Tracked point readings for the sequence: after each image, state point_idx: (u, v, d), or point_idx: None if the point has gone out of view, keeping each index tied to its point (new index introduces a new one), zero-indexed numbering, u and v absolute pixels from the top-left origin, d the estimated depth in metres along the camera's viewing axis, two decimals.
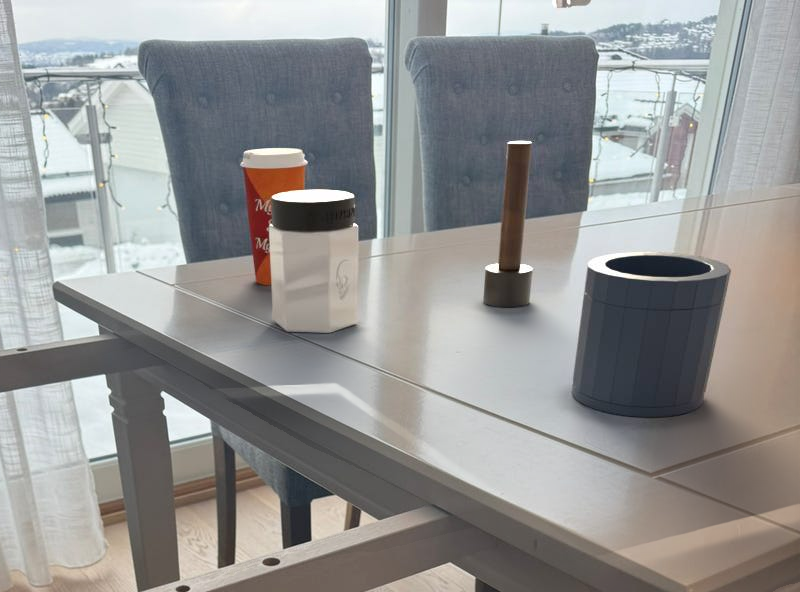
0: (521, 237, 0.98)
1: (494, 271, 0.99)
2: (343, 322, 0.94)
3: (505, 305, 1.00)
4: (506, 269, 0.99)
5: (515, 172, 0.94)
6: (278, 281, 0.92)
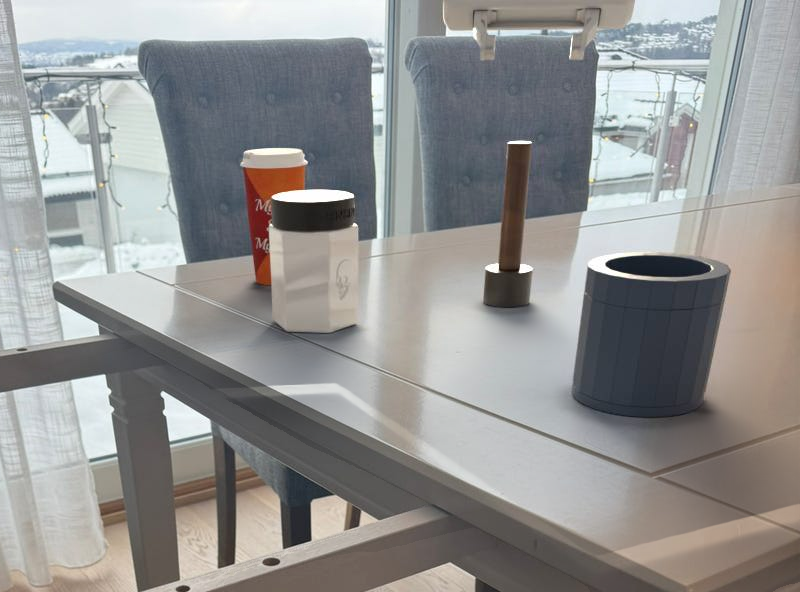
0: (521, 237, 0.98)
1: (494, 271, 0.99)
2: (343, 322, 0.94)
3: (505, 305, 1.00)
4: (506, 269, 0.99)
5: (515, 172, 0.94)
6: (278, 281, 0.92)
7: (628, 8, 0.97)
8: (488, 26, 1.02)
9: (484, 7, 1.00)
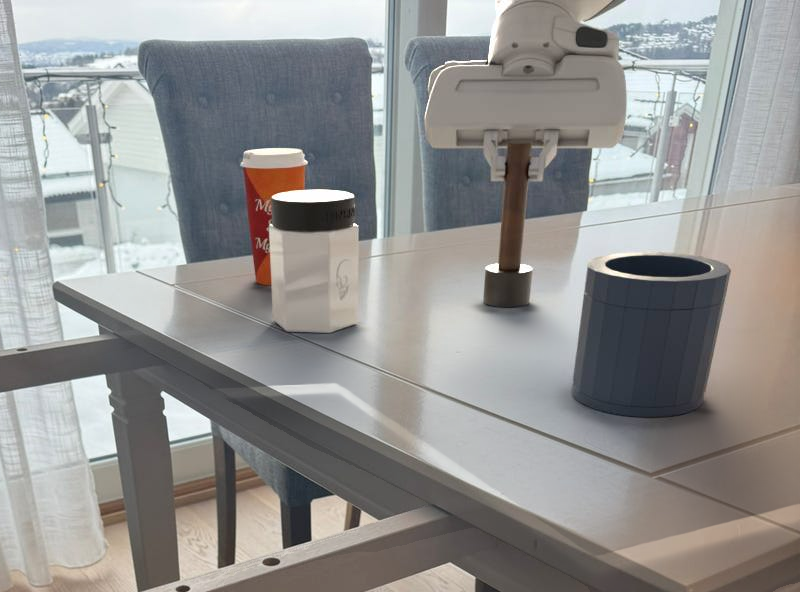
0: (521, 237, 0.98)
1: (494, 270, 0.99)
2: (343, 322, 0.94)
3: (505, 305, 1.00)
4: (506, 269, 0.99)
5: (515, 172, 0.94)
6: (278, 281, 0.92)
7: (617, 129, 0.93)
8: (472, 144, 0.98)
9: (467, 127, 0.95)
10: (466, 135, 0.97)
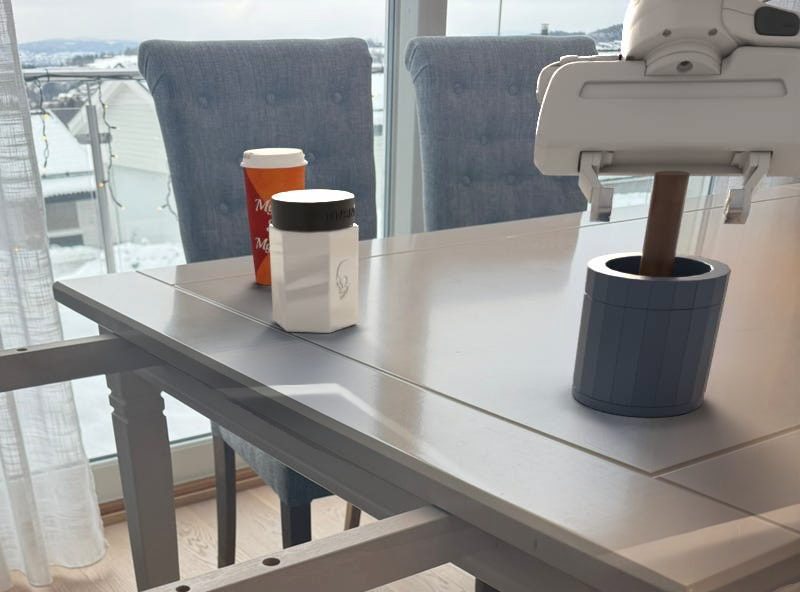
0: None
1: None
2: (343, 322, 0.94)
3: None
4: None
5: (664, 214, 0.67)
6: (278, 281, 0.92)
7: None
8: (599, 171, 0.71)
9: (597, 148, 0.68)
10: None
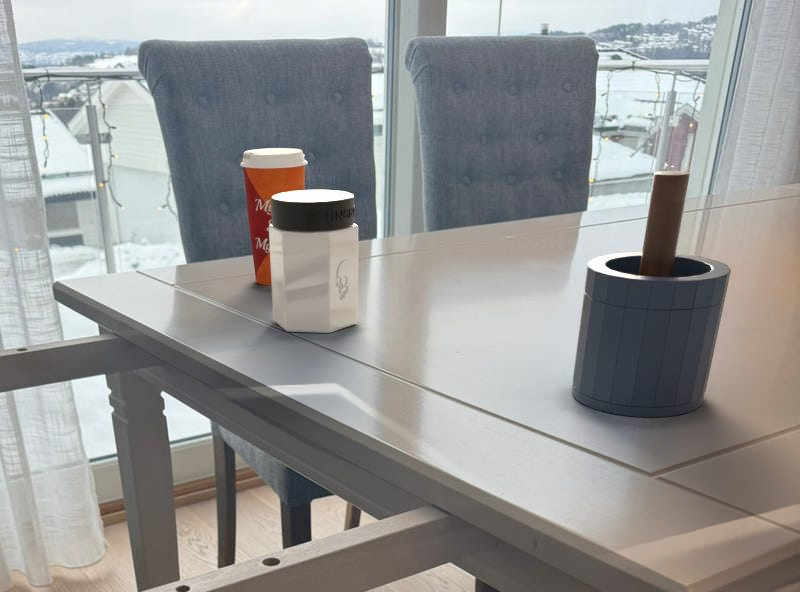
0: None
1: None
2: (343, 322, 0.94)
3: None
4: None
5: (664, 214, 0.67)
6: (278, 281, 0.92)
7: None
8: None
9: None
10: None
